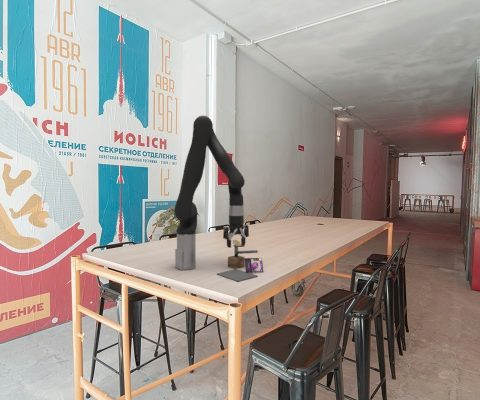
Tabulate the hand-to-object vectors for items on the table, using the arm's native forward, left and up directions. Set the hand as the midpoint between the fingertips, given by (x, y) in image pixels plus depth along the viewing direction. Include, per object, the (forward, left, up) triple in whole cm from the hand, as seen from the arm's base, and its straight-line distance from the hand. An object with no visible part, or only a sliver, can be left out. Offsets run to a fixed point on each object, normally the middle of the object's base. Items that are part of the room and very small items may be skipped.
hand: (236, 246), depth 163 cm
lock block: (0, 0, -10) cm, 10 cm away
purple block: (0, -12, -10) cm, 16 cm away
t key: (+4, -2, -5) cm, 7 cm away
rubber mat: (-10, -12, -10) cm, 19 cm away
